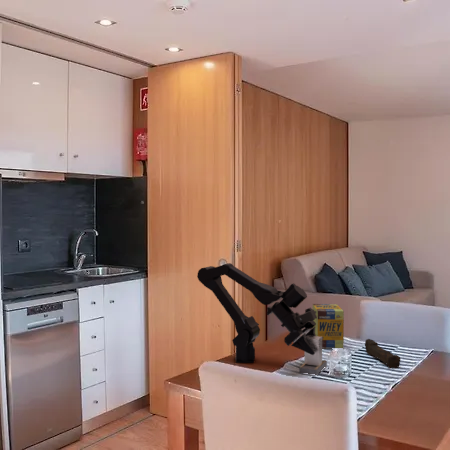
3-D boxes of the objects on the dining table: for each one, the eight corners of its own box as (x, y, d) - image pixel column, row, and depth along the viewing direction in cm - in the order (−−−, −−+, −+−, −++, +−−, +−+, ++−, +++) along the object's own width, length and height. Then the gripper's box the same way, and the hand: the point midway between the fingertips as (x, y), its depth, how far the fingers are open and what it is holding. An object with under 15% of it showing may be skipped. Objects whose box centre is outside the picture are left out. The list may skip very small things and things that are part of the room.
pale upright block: (318, 365, 177) (318, 339, 177) (304, 363, 180) (304, 337, 179) (322, 362, 181) (322, 336, 181) (308, 360, 183) (308, 335, 183)
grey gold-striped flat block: (316, 376, 174) (316, 369, 174) (299, 373, 176) (299, 366, 176) (326, 366, 184) (326, 359, 184) (310, 364, 187) (310, 357, 187)
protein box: (317, 350, 206) (317, 310, 206) (312, 340, 221) (312, 303, 221) (344, 350, 206) (344, 310, 205) (337, 340, 221) (337, 303, 221)
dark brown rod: (401, 368, 182) (401, 352, 182) (388, 369, 181) (388, 353, 181) (374, 351, 205) (374, 337, 204) (362, 352, 204) (362, 337, 204)
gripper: (293, 306, 173) (325, 343, 168) (310, 297, 190) (340, 330, 185) (271, 327, 177) (302, 364, 172) (290, 317, 194) (319, 350, 189)
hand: (317, 351), depth 179 cm, fingers open, 7 cm apart
